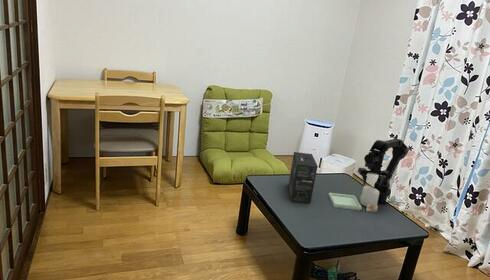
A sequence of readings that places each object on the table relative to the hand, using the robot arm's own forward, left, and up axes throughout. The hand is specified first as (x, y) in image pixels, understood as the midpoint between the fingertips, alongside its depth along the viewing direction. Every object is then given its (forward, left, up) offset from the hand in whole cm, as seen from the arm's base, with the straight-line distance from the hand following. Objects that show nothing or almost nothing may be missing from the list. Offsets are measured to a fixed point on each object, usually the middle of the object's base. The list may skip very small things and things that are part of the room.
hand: (371, 186), depth 225 cm
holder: (0, 0, -13) cm, 13 cm away
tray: (+14, 0, -13) cm, 19 cm away
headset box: (+41, -5, -13) cm, 44 cm away
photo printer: (0, 0, -13) cm, 13 cm away
